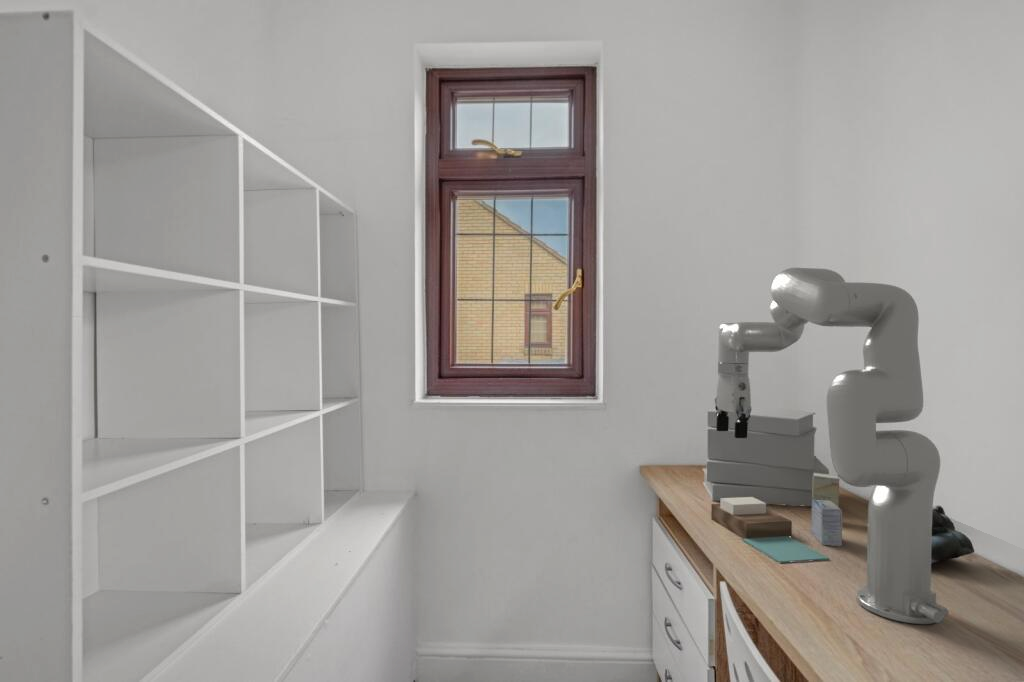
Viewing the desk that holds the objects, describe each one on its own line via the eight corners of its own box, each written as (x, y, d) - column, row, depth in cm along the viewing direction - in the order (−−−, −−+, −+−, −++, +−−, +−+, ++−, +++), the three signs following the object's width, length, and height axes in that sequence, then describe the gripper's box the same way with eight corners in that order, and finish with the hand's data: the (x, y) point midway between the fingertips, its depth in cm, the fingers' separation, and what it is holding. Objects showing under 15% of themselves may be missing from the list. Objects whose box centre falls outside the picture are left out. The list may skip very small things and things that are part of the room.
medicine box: (842, 547, 134) (842, 509, 134) (821, 545, 135) (821, 508, 135) (830, 535, 142) (831, 500, 142) (811, 534, 143) (811, 499, 143)
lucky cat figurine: (904, 569, 121) (876, 502, 128) (892, 572, 131) (867, 510, 138) (986, 556, 117) (952, 487, 124) (967, 560, 128) (937, 497, 134)
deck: (791, 537, 140) (791, 521, 140) (746, 540, 138) (746, 523, 138) (752, 517, 156) (752, 502, 156) (711, 519, 154) (711, 504, 154)
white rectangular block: (766, 513, 146) (766, 503, 146) (733, 514, 144) (733, 504, 144) (752, 506, 152) (752, 496, 152) (720, 507, 150) (720, 498, 150)
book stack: (842, 513, 161) (844, 420, 160) (709, 505, 167) (711, 415, 167) (808, 486, 190) (809, 407, 190) (696, 480, 197) (697, 404, 196)
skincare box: (811, 521, 153) (812, 475, 152) (811, 517, 156) (812, 472, 156) (838, 525, 150) (839, 478, 150) (838, 520, 154) (839, 474, 153)
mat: (829, 559, 126) (829, 558, 126) (779, 563, 124) (779, 561, 124) (787, 537, 140) (787, 536, 140) (742, 540, 138) (742, 538, 138)
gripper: (764, 372, 145) (762, 440, 146) (730, 367, 163) (728, 428, 163) (736, 372, 145) (734, 441, 145) (704, 367, 162) (703, 428, 162)
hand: (731, 434), depth 154 cm, fingers open, 9 cm apart
